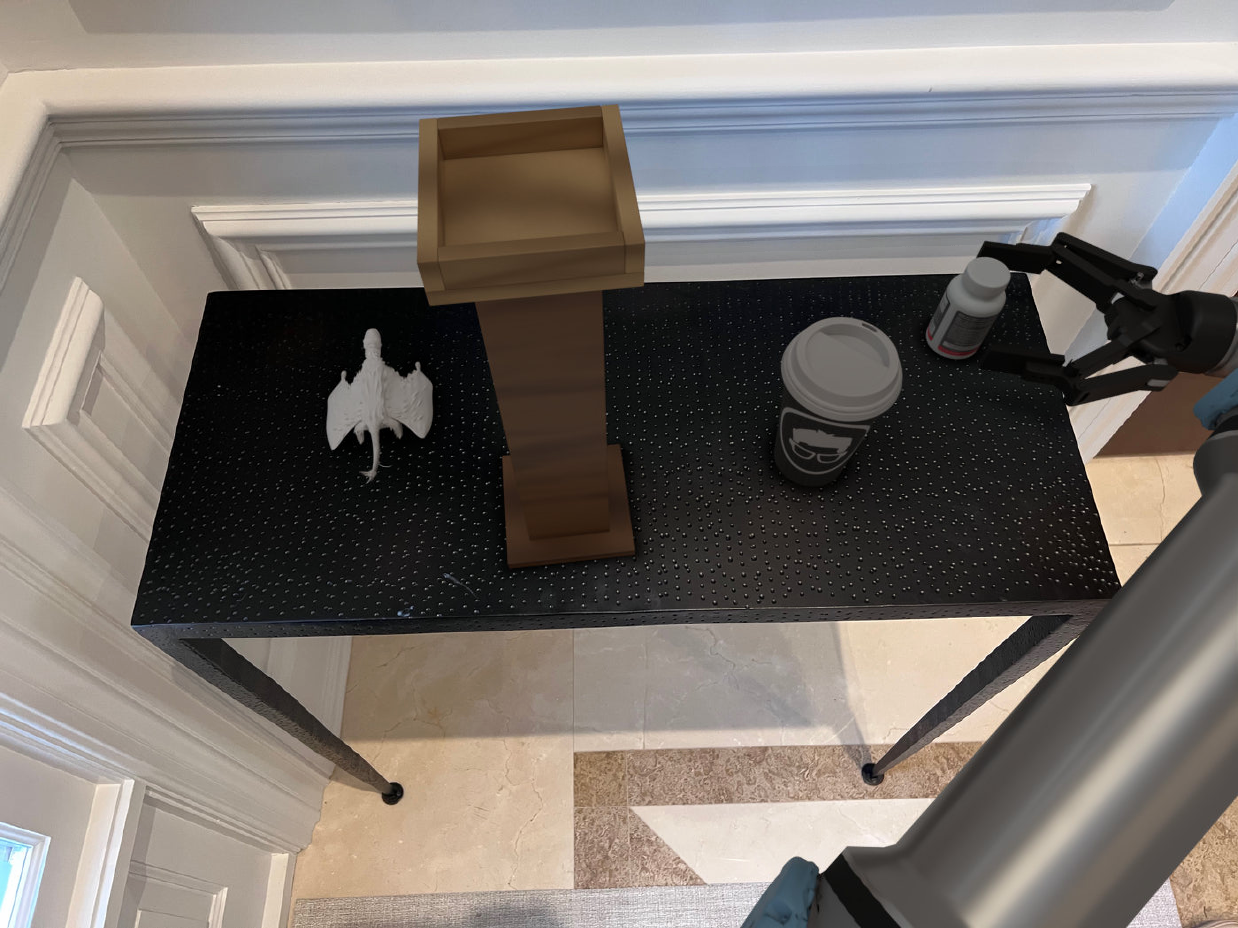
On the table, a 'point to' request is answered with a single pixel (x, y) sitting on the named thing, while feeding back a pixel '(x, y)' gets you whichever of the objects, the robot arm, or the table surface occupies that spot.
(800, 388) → the coffee cup
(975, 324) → the pill bottle
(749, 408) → the table surface
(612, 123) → the wooden tray stand
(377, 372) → the winged dragon toy
